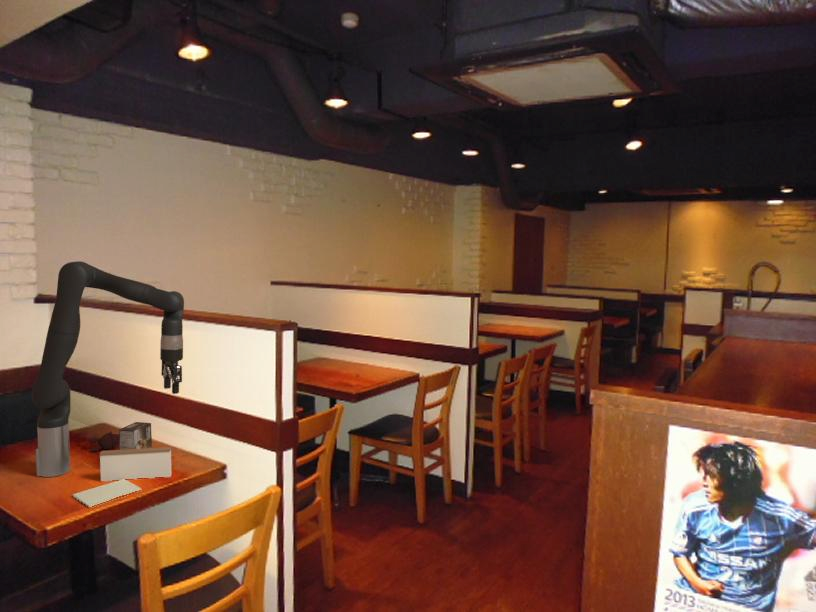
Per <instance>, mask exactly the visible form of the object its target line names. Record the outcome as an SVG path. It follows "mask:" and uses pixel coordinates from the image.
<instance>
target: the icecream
mask: <svg viewBox="0 0 816 612" xmlns="http://www.w3.org/2000/svg"><path fill="white" fill-rule="evenodd" d="M88 442H89V443H90V444H98V445H95V446H93V447H91V448H90V450H89V451H90V452H91V453H96V452H99V451H101V449H103V450H115V447H116V446H118V445H120V438H119V433H118V434H117V433H112V431H110V432H107V433H105V434H103V435H102V436H101V437H96V436H93V437H92V436H91V437H89V439H88ZM95 451H96V452H95Z"/></svg>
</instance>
